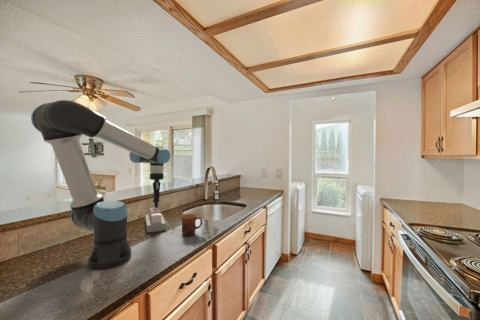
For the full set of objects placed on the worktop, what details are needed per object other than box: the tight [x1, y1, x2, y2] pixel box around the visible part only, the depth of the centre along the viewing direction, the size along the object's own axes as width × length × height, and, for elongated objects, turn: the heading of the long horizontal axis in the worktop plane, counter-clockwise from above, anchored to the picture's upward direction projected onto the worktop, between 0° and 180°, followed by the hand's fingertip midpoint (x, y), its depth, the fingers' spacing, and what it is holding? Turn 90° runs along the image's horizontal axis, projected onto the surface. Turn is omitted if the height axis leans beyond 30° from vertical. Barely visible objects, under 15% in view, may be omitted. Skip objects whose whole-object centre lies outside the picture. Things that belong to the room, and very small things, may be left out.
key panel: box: [145, 212, 167, 233], centre depth 126 cm, size 10×23×4 cm, turn 27°
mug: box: [180, 213, 203, 237], centre depth 112 cm, size 12×9×10 cm
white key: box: [151, 212, 161, 224], centre depth 119 cm, size 5×5×4 cm
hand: (155, 212), depth 119 cm, fingers closed
